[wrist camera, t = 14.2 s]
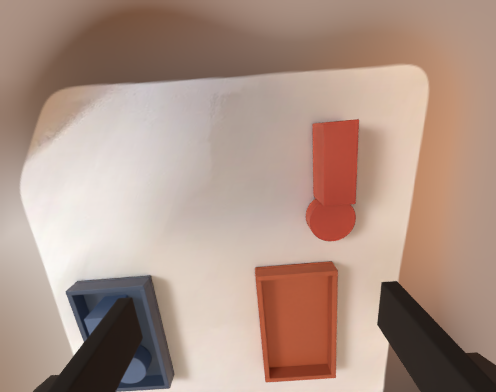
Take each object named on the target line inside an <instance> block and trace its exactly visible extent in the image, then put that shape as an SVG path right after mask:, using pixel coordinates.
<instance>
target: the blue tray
mask: <svg viewBox="0 0 496 392" xmlns="http://www.w3.org/2000/svg"><path fill="white" fill-rule="evenodd" d="M66 295H67V297H68V300H69V303H70V305H71V308H72V311H73V313H74V316H75V319H76V322H77V324H78V327H79V330H80V332H81V335H82V338H83V341H84V342H85V341H86V339H87V338H88V337H89V336H90V335H89V332H88V329H87V326H86V324H85V321H84V319H85V318H86V317H87V316H88V314H89V313H90V312H91V311H92V310H93V309H94V308H95V306H96V305H97V304H98V303H99V302H100V301H101V299H102V298H103V297H106V296H120V295H128V298H130V297H132V298H133V302H134V306H135V310H136V313H137V317H138V321H139V324H140V328H141V332H142V336H143V339H142V341H141V343H140V345H141V346H143V347H145V348H146V349H147V350H148V351H149V352H150V354H151V363H150V366H149V368H148V370H147V373H146V375H145V377H144V378H143V379H142V380H141V381H139V382H137V383H130V384H129V383H123V382H120V384H119V386H118V388H117V390H116V392H121V391H137V390H153V389H168V388H170V386H171V383H172V380H173V377H174V371H173V367H172V363H171V359H170V355H169V351H168V346H167V342H166V338H165V334H164V330H163V326H162V322H161V318H160V313H159V309H158V305H157V301H156V297H155V293H154V289H153V285H152V280H151V276H140V277H127V278H114V279H101V280H89V281H77V282H76V283H75V284H74V285H72V286H71V287H70V288H69V289H68V290H67V291H66Z"/></svg>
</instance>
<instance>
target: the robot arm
mask: <svg viewBox="0 0 496 392" xmlns="http://www.w3.org/2000/svg"><path fill="white" fill-rule="evenodd" d="M377 325H378V326H379V328H380V329H381V331H382V333H383V334H384V336H385V337H386V339H387V340H388V342H389V343H390V345H391V346H392V348H393V350H394V351H395V353H396V354H397V356H398V357H399V359H400V360H401V362H402V363H403V365H404V366H405V368H406V370H407V371H408V373H409V374H410V376H411V377H412V379H413V380H414V382H415V383H416V385H417V387H418V388H419V390H420V391H421V392H496V365H495V364H493V363H492V362H490V361H489V360H487V359H486V358H484V357H483V356H481V355H480V354H478V353H465V352H464V351H463V350H462V349H461V348H460V347H459V346H458V345H457V344H456V343H455V342H454V341H453V339H452V338H451V337H450V336H449V335H448V334H447V333H446V332H445V331H444V330H443V329H442V328H441V327H440V326H439V325H438V324H437V323H436V322H435V321H434V320H433V319H432V317H431V316H430V315H429V314H428V313H427V312H426V311H425V310H424V309H423V308H422V307H421V306H420V305H419V304H418V303H417V302H416V301H415V300H414V299H413V298H412V297H411V296H410V295H409V294H408V292H407V291H406V290H405V289H404V288H403V287H402V286H401V285H400V284H399V283H398V282H397V281H393V282H382V285H381V295H380V304H379V313H378V323H377ZM142 339H143V336H142V332H141V328H140V324H139V321H138V317H137V313H136V310H135V306H134V302H133V298H132V297H130V298H118V299H117V300H116V302H115V303H114V304H113V306H112V307H111V308H110V309H109V311H108V312H107V313H106V315H105V316H104V317H103V319H102V320H101V321H100V322H99V324H98V325H97V326H96V328H95V329H94V330H93V332H92V333H91V334H90V336H89V337H88V338H87V339H86V341H85V342H84V343H83V345H82V346H81V347H80V349H79V350H78V351H77V352H76V354H75V355H74V356H73V358H72V359H71V360H70V362H69V363H68V364H67V365H66V367H65V368H64V369H63V371H62V372H61V373H60V375H51V376H50V377H49V378H47V379H46V380H45V381H44V382H43V383H42V384H41V385H39V386H38V387H37V388H36V389H35V390H34V391H33V392H116V390H117V388H118V386H119V384H120V382H121V380H122V378H123V376H124V374H125V372H126V370H127V368H128V366H129V364H130V362H131V360H132V358H133V356H134V354H135V352H136V350H137V348H138V347H139V345H140V343H141V341H142Z"/></svg>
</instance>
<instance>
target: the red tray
mask: <svg viewBox="0 0 496 392" xmlns="http://www.w3.org/2000/svg"><path fill="white" fill-rule="evenodd" d="M255 276H256V287H257V297H258V308H259V318H260V329H261V339H262V350H263V360H264V370H265V381H266V382H279V381H294V380H310V379H325V378H336V333H337V281H338V270H337V269H336V267H335V266H334V264H333V262H332V261H331V262H318V263H305V264H293V265H280V266H267V267H255Z"/></svg>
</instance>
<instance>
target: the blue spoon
mask: <svg viewBox="0 0 496 392" xmlns="http://www.w3.org/2000/svg"><path fill="white" fill-rule="evenodd" d="M118 298H128V295H120V296H106V297H103V298H102V299H101V301H100V302H99V303H98V304H97V305H96V306H95V308H94V309H93V310H92V311H91V312H90V313H89V314H88V316H87V317H86V318H85V319H84V321H85V324H86V326H87V329H88V332H89V335H90V334H91V333H92V332H93V330H94V329H95V328H96V326H97V325H98V324H99V322H100V321H101V320H102V319H103V317H104V316H105V315H106V313H107V312H108V311H109V309H110V308H111V307H112V306H113V304H114V303H115V302H116V300H117V299H118ZM150 363H151V354H150V352H149V351H148V350H147V349H146V348H145V347H143V346H141V345H139V347H138V348H137V350H136V352H135V354H134V356H133V358H132V360H131V362H130V364H129V366H128V368H127V370H126V372H125V374H124V376H123V378H122V380H121V382H123V383H129V384H130V383H137V382H139V381H141V380H142V379H143V378H144V377H145V375H146V373H147V370H148V368H149V366H150Z"/></svg>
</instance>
